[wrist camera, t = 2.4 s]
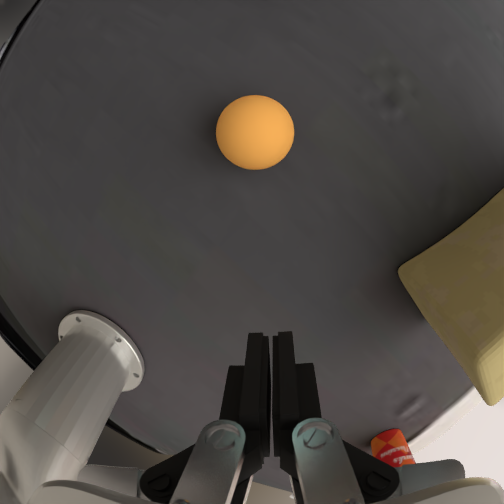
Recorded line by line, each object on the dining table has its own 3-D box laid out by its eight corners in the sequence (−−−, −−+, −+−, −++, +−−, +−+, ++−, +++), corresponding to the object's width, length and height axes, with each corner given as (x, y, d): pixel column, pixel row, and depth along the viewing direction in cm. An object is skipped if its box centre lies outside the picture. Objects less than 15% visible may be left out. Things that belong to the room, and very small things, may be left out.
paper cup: (415, 424, 34) (439, 488, 21) (389, 448, 37) (406, 508, 23) (380, 424, 33) (402, 498, 20) (355, 449, 36) (369, 516, 23)
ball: (251, 181, 23) (247, 189, 17) (208, 131, 21) (191, 125, 16) (304, 140, 21) (316, 137, 16) (260, 89, 20) (259, 71, 15)
